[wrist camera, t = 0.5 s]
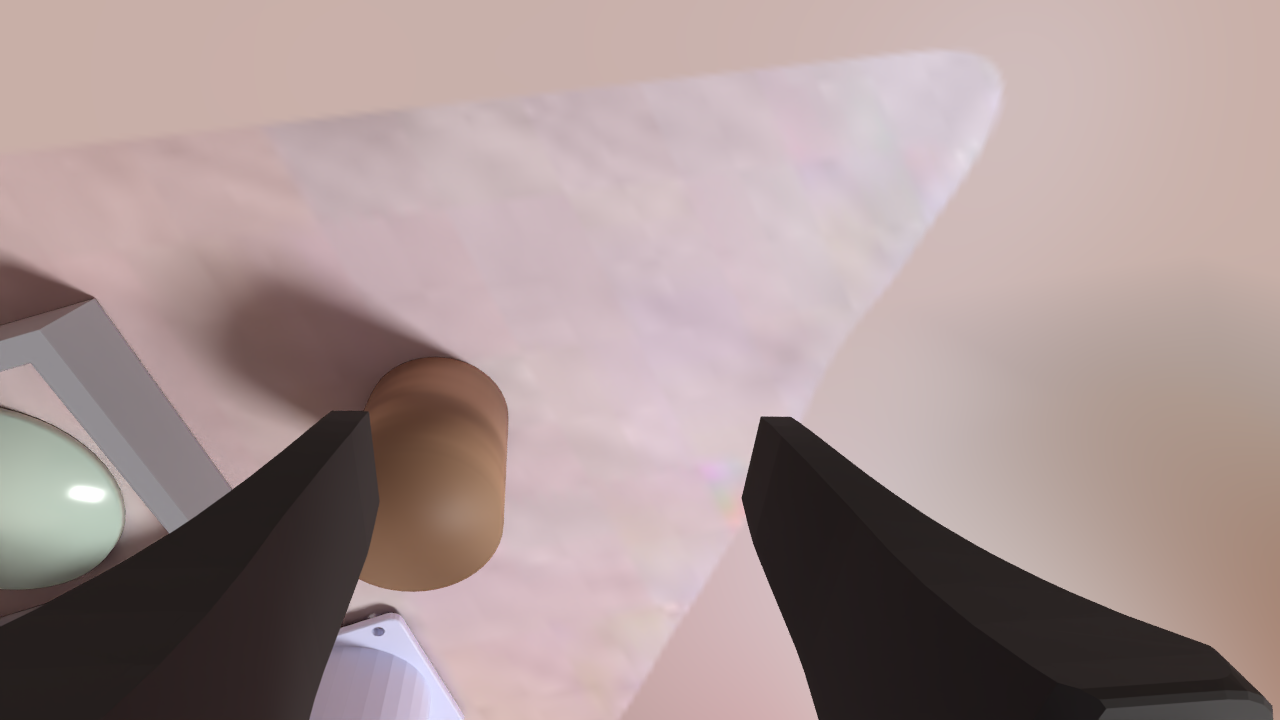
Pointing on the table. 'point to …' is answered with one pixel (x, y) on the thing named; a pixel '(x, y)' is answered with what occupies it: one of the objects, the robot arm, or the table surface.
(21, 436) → the coaster
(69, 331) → the grey rectangular frame
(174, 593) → the robot arm
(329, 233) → the table surface
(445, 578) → the walnut cylinder
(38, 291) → the table surface
